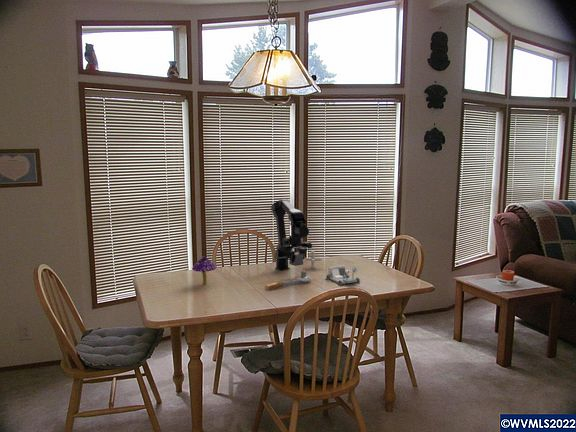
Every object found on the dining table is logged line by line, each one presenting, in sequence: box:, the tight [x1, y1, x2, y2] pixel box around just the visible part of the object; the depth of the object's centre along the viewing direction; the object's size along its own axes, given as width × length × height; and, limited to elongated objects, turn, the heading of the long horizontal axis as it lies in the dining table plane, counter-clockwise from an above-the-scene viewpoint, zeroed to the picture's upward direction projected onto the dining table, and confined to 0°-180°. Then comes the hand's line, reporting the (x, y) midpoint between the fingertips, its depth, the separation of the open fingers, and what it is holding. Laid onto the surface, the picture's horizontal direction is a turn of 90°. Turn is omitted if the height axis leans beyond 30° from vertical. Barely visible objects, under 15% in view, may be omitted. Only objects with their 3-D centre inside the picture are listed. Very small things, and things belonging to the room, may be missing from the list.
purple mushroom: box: [191, 256, 217, 286], centre depth 237 cm, size 12×12×15 cm
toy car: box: [326, 265, 361, 287], centre depth 242 cm, size 18×10×12 cm
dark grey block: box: [288, 251, 304, 267], centre depth 251 cm, size 5×5×6 cm
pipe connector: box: [303, 250, 322, 269], centre depth 272 cm, size 10×10×10 cm
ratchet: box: [264, 270, 311, 291], centre depth 236 cm, size 28×7×6 cm, turn 128°
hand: (296, 262), depth 251 cm, fingers closed on dark grey block, 5 cm apart
